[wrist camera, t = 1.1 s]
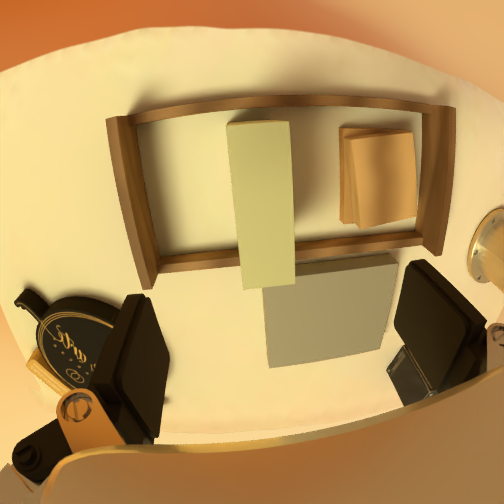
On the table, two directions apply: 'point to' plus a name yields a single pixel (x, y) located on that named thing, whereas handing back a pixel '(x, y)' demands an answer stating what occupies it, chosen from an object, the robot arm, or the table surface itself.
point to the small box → (409, 378)
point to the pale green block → (263, 201)
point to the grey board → (329, 310)
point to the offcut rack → (426, 234)
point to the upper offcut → (382, 177)
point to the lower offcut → (345, 192)
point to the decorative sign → (67, 338)
